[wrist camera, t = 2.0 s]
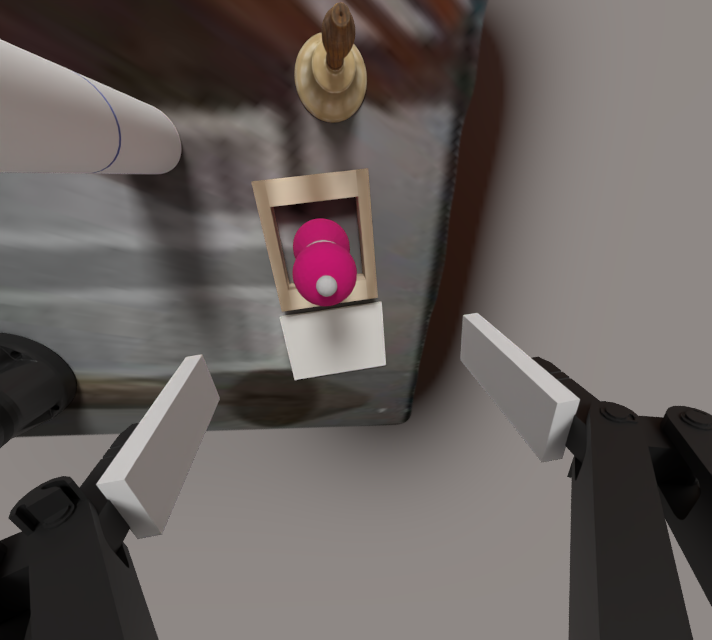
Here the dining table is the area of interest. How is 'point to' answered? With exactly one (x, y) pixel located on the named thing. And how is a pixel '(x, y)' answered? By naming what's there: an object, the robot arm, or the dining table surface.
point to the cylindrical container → (76, 123)
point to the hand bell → (332, 69)
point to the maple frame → (312, 191)
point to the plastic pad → (335, 340)
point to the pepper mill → (323, 263)
